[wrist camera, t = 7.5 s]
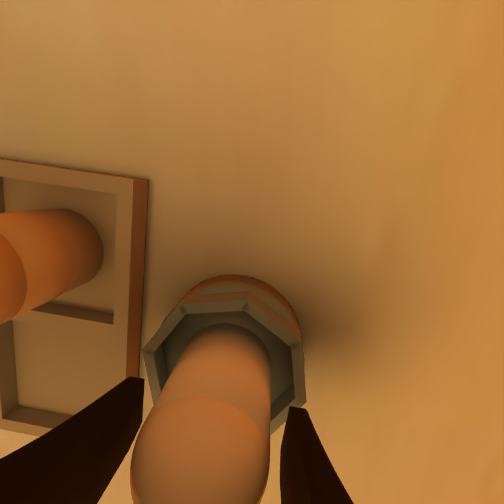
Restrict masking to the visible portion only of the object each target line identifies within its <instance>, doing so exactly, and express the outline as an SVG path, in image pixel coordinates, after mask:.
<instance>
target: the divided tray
mask: <svg viewBox="0 0 504 504" xmlns="http://www.w3.org/2000/svg"><path fill="white" fill-rule="evenodd" d="M148 183H149V180H142V179H136V178H129V177H122V176H115V175H109V174H102V173H95V172H88V171H82V170H75V169H68V168H61V167H55V166H48V165H41V164H34V163H28V162H21V161H14V160H7V159H1V158H0V213H8V212H20V211H31V210H43V209H54V208H63V209H69V210H72V211H75V212H77V213H79V214H81V215H82V216H84V217H85V218H86V219H87V220H89V221H90V222H91V224H92V225H93V226H94V227H95V229H96V230H97V232H98V234H99V236H100V238H101V241H102V244H103V250H104V257H103V263H102V266H101V268H100V270H99V272H98V273H97V275H96V276H95V277H94V278H93V279H91V280H90V281H88V282H87V283H84V284H82V285H80V286H78V287H76V288H74V289H72V290H70V291H68V292H66V293H64V294H62V295H60V296H58V297H56V298H54V299H52V300H50V301H48V302H46V303H44V304H42V305H40V306H38V307H36V308H34V309H32V310H30V311H28V312H25V313H23V314H21V315H19V316H17V317H15V318H13V319H11V320H9V321H7V322H5V323H3V324H0V429H4V430H9V431H14V432H19V433H24V434H29V435H34V436H39V437H41V436H42V435H44V434H46V433H47V432H49V431H50V430H52V429H53V428H55V427H57V426H58V425H60V424H61V423H63V422H64V421H66V420H68V419H69V418H71V417H72V416H74V415H75V414H77V413H78V412H79V411H81V410H82V409H84V408H85V407H87V406H88V405H90V404H91V403H93V402H94V401H95V400H97V399H98V398H100V397H101V396H102V395H104V394H105V393H107V392H108V391H109V390H111V389H112V388H114V387H115V386H116V385H118V384H119V383H121V382H122V381H123V380H125V379H126V378H128V377H129V376H131V377H137V378H138V377H139V358H140V339H141V319H142V300H143V280H144V261H145V242H146V222H147V203H148Z"/></svg>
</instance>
